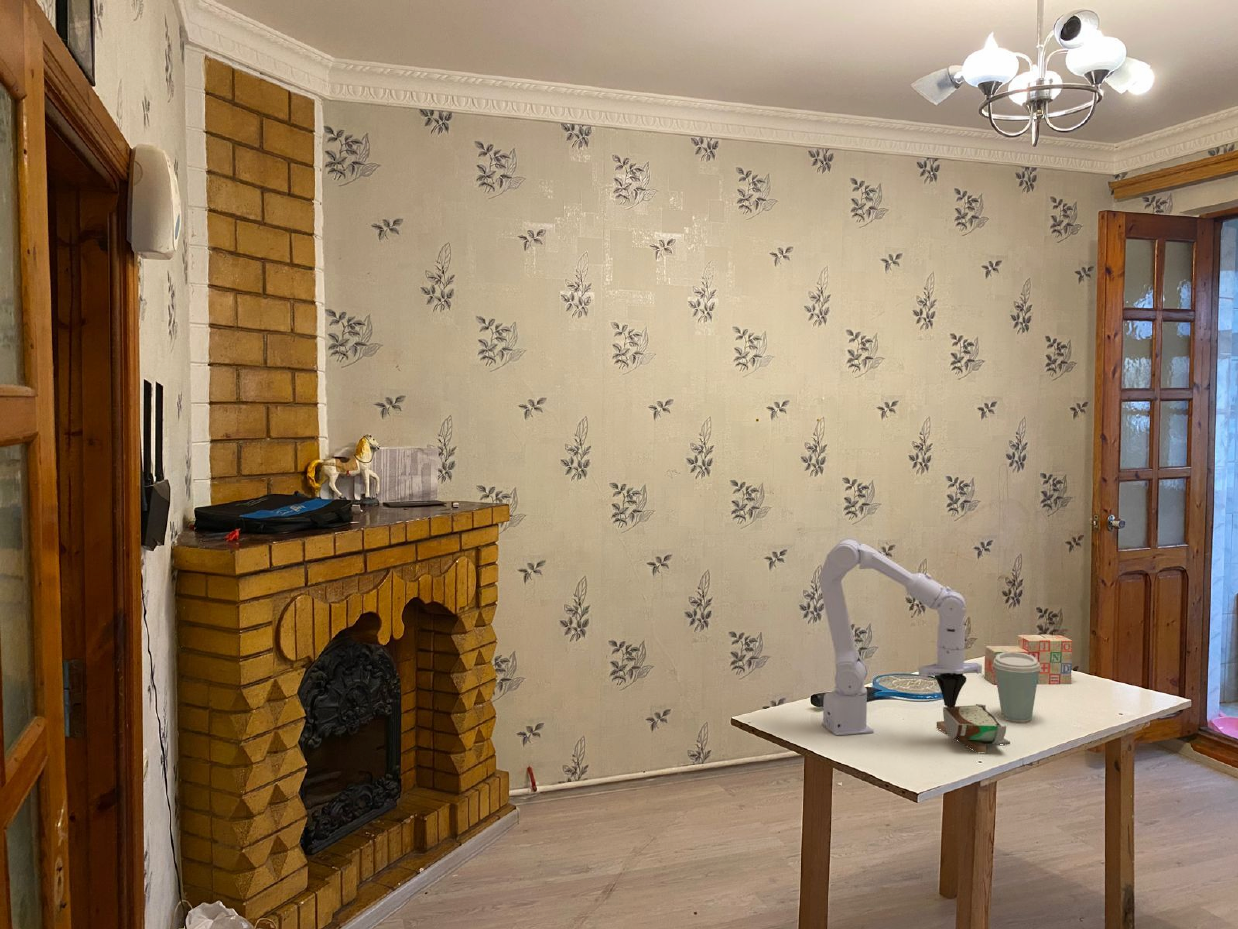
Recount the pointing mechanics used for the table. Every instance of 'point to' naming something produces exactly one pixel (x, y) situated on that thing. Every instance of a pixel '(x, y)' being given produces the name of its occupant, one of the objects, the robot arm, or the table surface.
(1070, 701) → the table surface
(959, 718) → the food container
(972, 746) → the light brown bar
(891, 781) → the table surface
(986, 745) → the rubber mat
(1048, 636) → the stack of blocks
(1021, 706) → the disposable coffee cup
